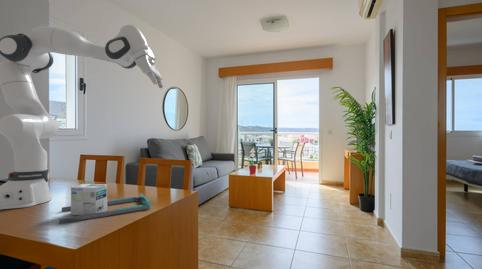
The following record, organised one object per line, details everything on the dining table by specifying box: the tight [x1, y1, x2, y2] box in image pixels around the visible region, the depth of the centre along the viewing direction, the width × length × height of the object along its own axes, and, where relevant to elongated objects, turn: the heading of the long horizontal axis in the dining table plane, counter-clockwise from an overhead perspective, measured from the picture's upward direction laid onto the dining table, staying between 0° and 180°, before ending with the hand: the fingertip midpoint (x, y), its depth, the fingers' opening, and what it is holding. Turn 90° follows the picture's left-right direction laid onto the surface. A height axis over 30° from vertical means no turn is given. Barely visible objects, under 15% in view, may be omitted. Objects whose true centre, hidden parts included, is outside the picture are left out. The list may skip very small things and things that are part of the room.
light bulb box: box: [70, 183, 108, 216], centre depth 93 cm, size 11×7×11 cm, turn 84°
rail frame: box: [58, 193, 152, 225], centre depth 97 cm, size 30×16×3 cm, turn 124°
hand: (158, 85), depth 111 cm, fingers open, 8 cm apart
